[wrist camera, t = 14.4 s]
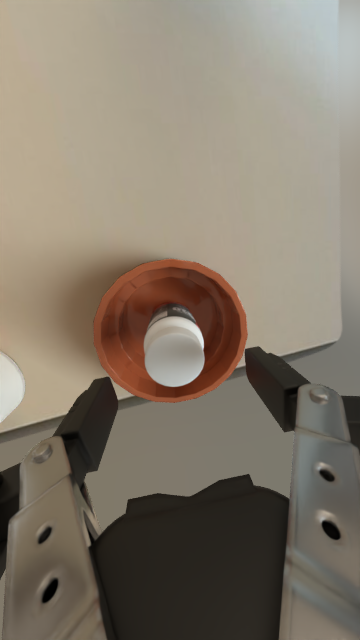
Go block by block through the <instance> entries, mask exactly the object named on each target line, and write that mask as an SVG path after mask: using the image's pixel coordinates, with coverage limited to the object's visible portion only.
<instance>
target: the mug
mask: <svg viewBox="0 0 360 640" xmlns="http://www.w3.org/2000/svg"><path fill="white" fill-rule="evenodd" d="M24 394H25V381H24V377H23V374H22V372H21V371H20V369H19V367H18V366H17V364H16V363H15V362H14V361H13V360H12V359H11V358H10V357H9V356H7V355H6V354H4V353H3V352H1V351H0V423H1V422H2V421H3V420H4V419H5V418H6V417H7V416H8V415H9V414H10V413H11V412H12V411H13V410H14V409H15V408H16V407H17V406H18V405H19V404H20V403H21V402H22V399H23V397H24Z"/></svg>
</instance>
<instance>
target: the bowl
mask: <svg viewBox="0 0 360 640" xmlns="http://www.w3.org/2000/svg"><path fill="white" fill-rule="evenodd" d="M169 302H176V303H180V304H182V305H184V306H185V307H187V308H188V309H189V311H190V312H191V313H192V315H193V317H194V319H195V321H196V323H197V325H198V327H199V329H200V331H201V333H202V336H203V341H204V348H203V352H204V357H205V360H204V366H203V369H202V371H201V372H200V374H199V375H198V376H197V377H196V378H195V379H194V380H193V381H191V382H190V383H188V384H185V385H182V386H178V387H170V386H164V385H162V384H159V383H157V382H156V381H155V380H153V379H152V378H151V377H150V375H149V374H148V372H147V370H146V367H145V352H144V339H145V335H146V332H147V328H148V325H149V321H150V318H151V315H152V313H153V312H154V310H155V309H156V308H158V307H159V306H160V305H162V304H165V303H169ZM247 335H248V334H247V321H246V312H245V310H244V308H243V306H242V303H241V301H240V299H239V297H238V294H237V292H236V291H235V290H234V289H233V288H232V287H231V286H230V285H229V284H228V282H227V281H226V280H225V279H224V278H223V277H222V276H221V275H220V274H218V273H216V272H215V271H213V270H211V269H209V268H207V267H205V266H203V265H201V264H199V263H196V262H191V261H184V260H177V259H164V260H159V261H154V262H149V263H144V264H141V265H139V266H138V267H136V268H134V269H132V270H131V271H129V272H127V273H126V274H124V275H122V276H120V277H119V278H118V279H117V280H116V281H115V283H114V284H113V285H112V286H111V287H110V289H109V290H108V291H107V292H106V293H105V294H104V296H103V298H102V299H101V302H100V305H99V307H98V310H97V313H96V316H95V318H94V346H95V349H96V351H97V354H98V357H99V360H100V362H101V365H102V367H103V368H104V369H105V370H106V372H107V373H108V374H109V375H110V377H111V378H112V379H113V380H114V382H115V383H117V384H118V385H119V386H121V387H122V388H124V389H125V390H127V391H128V392H130V393H131V394H133V395H135V396H138V397H141V398H144V399H147V400H150V401H154V402H170V403H175V402H181V401H186V400H191V399H195V398H198V397H200V396H202V395H204V394H206V393H208V392H210V391H212V390H214V389H215V388H217V387H218V386H219V385H220V384H221V383H222V382H224V381H225V380H226V379H227V378H228V377H229V376H230V375H231V374H232V372H233V371H234V369H235V368H236V366H237V364H238V363H239V361H240V359H241V358H242V356H243V352H244V348H245V344H246V340H247Z"/></svg>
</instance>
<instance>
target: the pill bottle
mask: <svg viewBox="0 0 360 640" xmlns="http://www.w3.org/2000/svg"><path fill="white" fill-rule="evenodd" d="M203 348H204V341H203V336H202V333H201V331H200V329H199V327H198V325H197V323H196V321H195V319H194V317H193V315H192V313H191V312H190V311H189V309H188V308H187V307H185V306H184V305H182V304H180V303H176V302H169V303H165V304H162V305H160V306H159V307H158V308H156V309H155V310H154V312H153V313H152V315H151V318H150V321H149V325H148V328H147V332H146V335H145V339H144V352H145V367H146V370H147V372H148V374H149V375H150V377H151V378H152V379H153V380H155V381H156V382H157V383H159V384H162V385H164V386H170V387H178V386H182V385H185V384H188V383H190V382H191V381H193V380H194V379H195V378H196V377H197V376H198V375H199V374H200V372H201V371H202V369H203V366H204V360H205V357H204V352H203Z"/></svg>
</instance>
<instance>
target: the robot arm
mask: <svg viewBox="0 0 360 640" xmlns="http://www.w3.org/2000/svg"><path fill="white" fill-rule="evenodd" d="M245 363H246V373H247V377H248V380H249V382H250V383H251V385H252V386H253V388H254V389H255V391H256V392H257V394H258V395H259V396H260V398H261V399H262V401H263V402H264V404H265V405H266V406H267V408H268V409H269V411H270V412H271V414H272V415H273V417H274V418H275V420H276V421H277V422H278V423H279V425H280V427H281V428H282V430H283V431H284V432H288V431H294V432H295V433H294V445H293V459H292V473H291V487H290V488H291V489H290V499H289V498H287V497H285V496H284V495H282V494H280V493H278V492H276V491H273V490H271V489H268V488H264V487H260V486H254V485H253V482H252V480H251V478H250V475H249V474H247V475H243V476H237V477H233V478H228V479H224V480H219V481H217V482H216V483H214V484H212V485H210V486H208V487H207V488H205V489H203V490H202V491H200V492H198V493H196V494H194V495H192V496H190V497H185V496H177V495H167V494H159V493H157V494H152V495H147V496H143V497H138V498H133V499H129V500H128V503H127V509H126V514H124V515H122V516H121V517H119V518H118V519H116V520H115V521H114V522H113V523H112V524H110V525H109V526H108V527H107V528H106V529H105V530H104V531H103V532H102V530H101V528H100V525H99V522H98V519H97V516H96V513H95V510H94V507H93V505H92V501H91V498H90V495H89V492H88V489H87V486H86V484H85V482H84V479H85V476H86V473H88V472H93V471H97V470H98V467H99V464H100V461H101V458H102V455H103V452H104V449H105V446H106V443H107V440H108V437H109V434H110V431H111V428H112V425H113V422H114V419H115V416H116V413H117V410H118V399H117V396H116V393H115V390H114V388H113V385H112V382H111V380H110V378H109V377H104V378H99V379H95V380H93V382H92V384H91V385H90V387H89V388H88V390H85V391H84V392H83V393H82V394H81V395H80V396H79V397H78V398H77V399H76V401H75V402H74V404H73V407H71V409H70V410H69V413H67V415H66V416H65V418H64V419H63V421H62V422H61V424H60V425H59V427H58V428H57V430H56V431H55V433H54V435H53V436H52V437H50V438H47V439H45V440H43V441H41V442H40V443H38V444H37V445H36V446H34V447H33V448H32V449H31V450H30V451H29V452H28V453H27V454H26V455H25V457H24V458H23V460H22V462H21V463H19V464H17V465H15V466H13V467H10V468H8V469H6V470H4V471H2V472H0V579H1V577H2V575H3V573H4V571H5V569H6V577H5V594H4V595H5V596H4V612H3V630H2V640H360V397H359V396H340V395H339V394H338V393H337V392H336V391H334V390H333V389H331V388H329V387H326V386H323V385H320V384H311V383H310V382H309V381H308V380H306V379H305V378H304V377H303V376H302V375H300V374H299V373H298V372H297V371H296V370H294V369H293V368H291V366H290V365H289V364H287V363H286V362H285V361H284V360H283V359H281V358H280V357H279V356H276V355H274V354H272V353H266V352H265V351H263V350H262V349H261V348H260V347H253V348H248V349H245Z"/></svg>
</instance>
